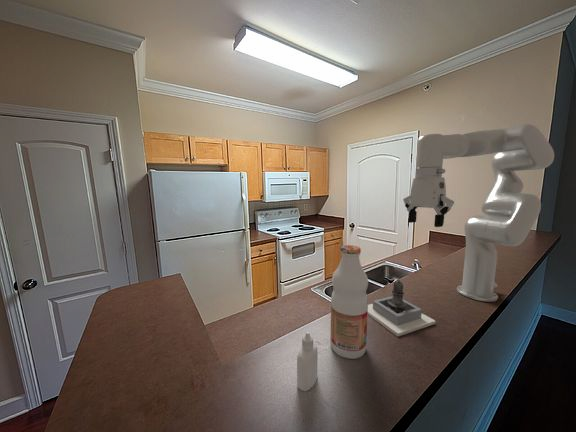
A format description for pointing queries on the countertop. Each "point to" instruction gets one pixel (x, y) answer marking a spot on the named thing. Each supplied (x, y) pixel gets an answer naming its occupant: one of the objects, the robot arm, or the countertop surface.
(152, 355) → the countertop surface
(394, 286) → the stone chess piece
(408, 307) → the socket
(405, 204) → the robot arm
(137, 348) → the countertop surface
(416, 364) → the countertop surface
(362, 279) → the fruit juice
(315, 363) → the eye dropper bottle
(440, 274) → the countertop surface
